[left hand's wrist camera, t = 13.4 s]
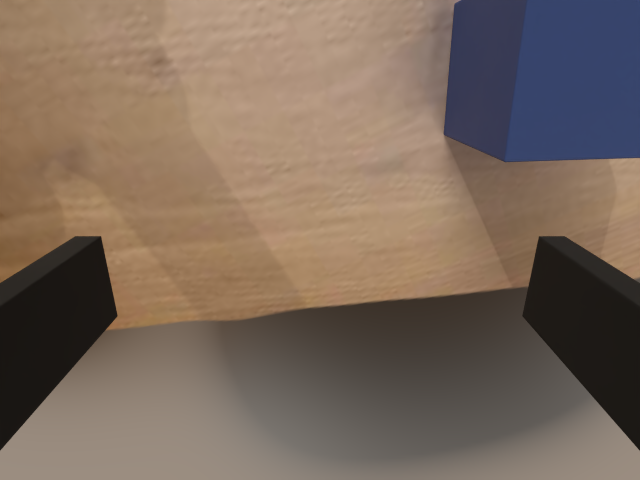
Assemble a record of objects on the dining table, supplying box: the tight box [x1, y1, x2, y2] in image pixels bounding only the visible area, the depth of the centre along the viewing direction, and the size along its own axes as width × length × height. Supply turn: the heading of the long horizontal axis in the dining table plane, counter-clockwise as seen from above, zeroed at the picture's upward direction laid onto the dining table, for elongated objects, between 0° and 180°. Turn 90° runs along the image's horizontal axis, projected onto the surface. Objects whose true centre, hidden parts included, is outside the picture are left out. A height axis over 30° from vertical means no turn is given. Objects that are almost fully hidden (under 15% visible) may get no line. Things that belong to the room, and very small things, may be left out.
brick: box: [444, 0, 640, 162], centre depth 23 cm, size 7×8×10 cm
